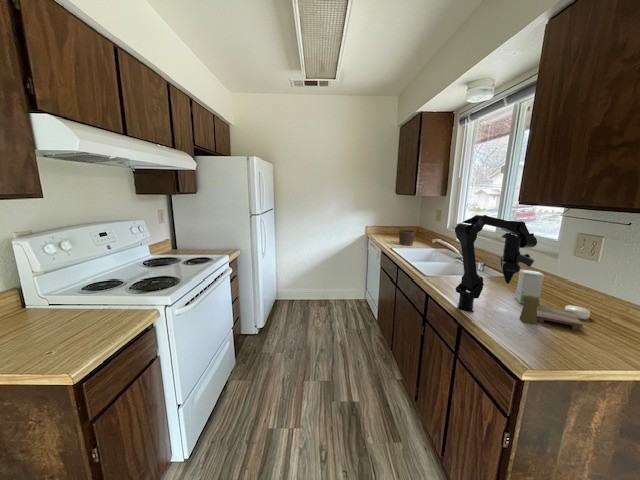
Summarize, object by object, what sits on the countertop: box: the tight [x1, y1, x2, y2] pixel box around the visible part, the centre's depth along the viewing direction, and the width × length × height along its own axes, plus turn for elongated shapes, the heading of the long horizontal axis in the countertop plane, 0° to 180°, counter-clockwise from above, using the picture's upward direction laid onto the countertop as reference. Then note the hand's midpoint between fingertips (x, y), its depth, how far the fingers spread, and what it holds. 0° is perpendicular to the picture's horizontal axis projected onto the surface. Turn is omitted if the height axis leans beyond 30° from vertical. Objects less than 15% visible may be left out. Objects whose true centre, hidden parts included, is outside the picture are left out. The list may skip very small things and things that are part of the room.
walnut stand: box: [537, 304, 584, 332], centre depth 112 cm, size 14×14×3 cm
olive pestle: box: [518, 295, 540, 325], centre depth 110 cm, size 6×6×11 cm
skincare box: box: [514, 269, 545, 305], centre depth 130 cm, size 8×7×16 cm
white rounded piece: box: [564, 304, 591, 320], centre depth 117 cm, size 8×8×3 cm
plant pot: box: [398, 229, 417, 247], centre depth 261 cm, size 16×16×16 cm
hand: (506, 280), depth 123 cm, fingers open, 9 cm apart
